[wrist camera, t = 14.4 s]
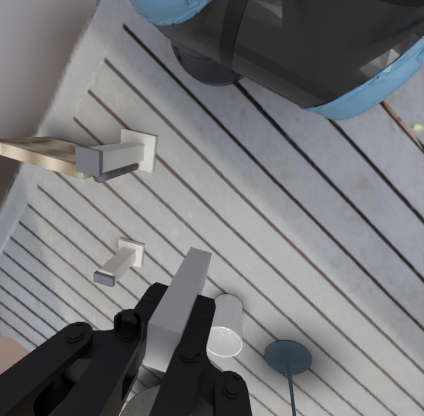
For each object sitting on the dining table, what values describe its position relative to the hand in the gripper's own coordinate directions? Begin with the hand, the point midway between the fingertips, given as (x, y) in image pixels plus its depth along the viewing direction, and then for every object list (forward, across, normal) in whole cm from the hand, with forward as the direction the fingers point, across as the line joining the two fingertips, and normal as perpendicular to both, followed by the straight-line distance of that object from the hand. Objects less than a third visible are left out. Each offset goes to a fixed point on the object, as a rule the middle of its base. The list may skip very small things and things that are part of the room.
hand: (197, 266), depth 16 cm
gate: (+28, -29, -2) cm, 40 cm away
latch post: (+29, -20, -23) cm, 42 cm away
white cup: (+30, +5, -30) cm, 42 cm away
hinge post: (+29, -20, +1) cm, 36 cm away
